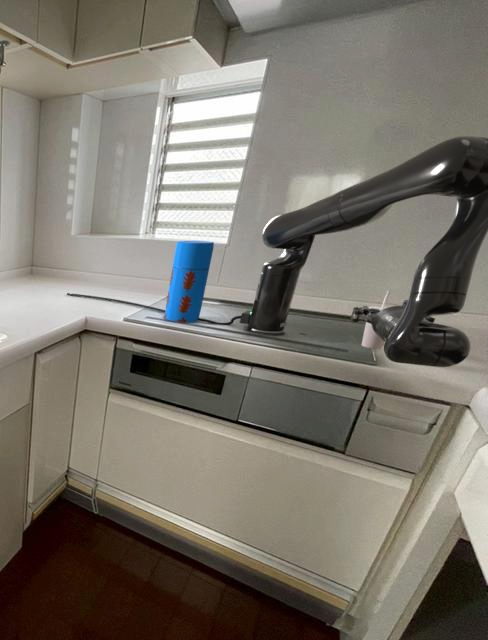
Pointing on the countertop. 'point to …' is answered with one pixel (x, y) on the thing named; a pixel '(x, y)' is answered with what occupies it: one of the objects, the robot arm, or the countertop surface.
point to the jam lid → (405, 303)
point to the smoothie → (369, 335)
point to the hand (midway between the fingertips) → (381, 311)
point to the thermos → (188, 280)
